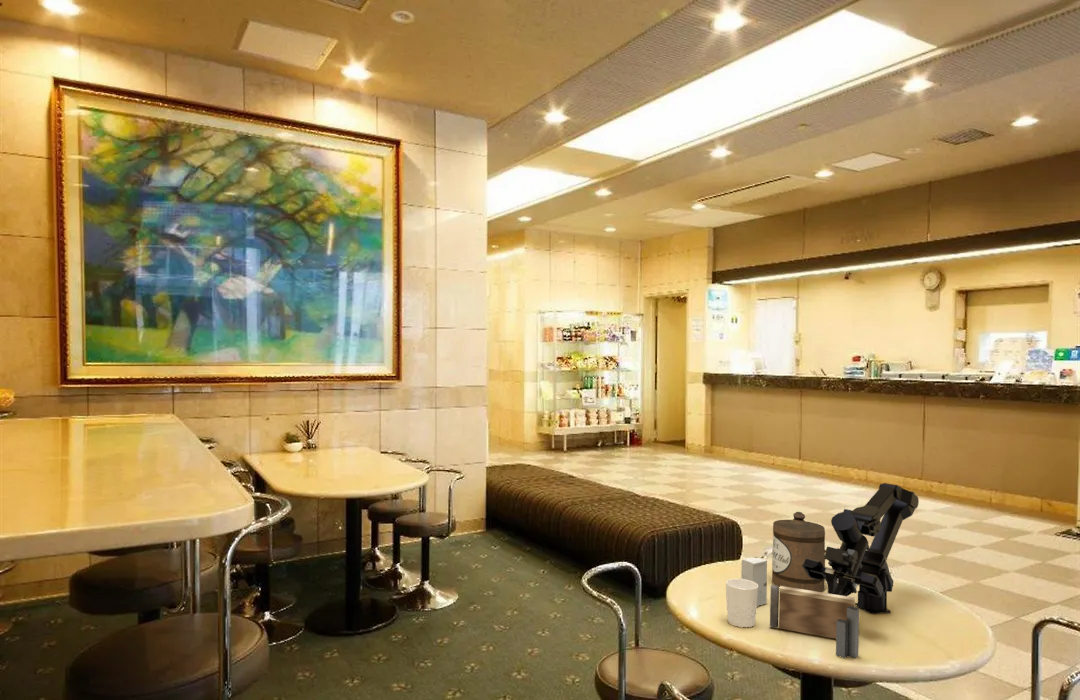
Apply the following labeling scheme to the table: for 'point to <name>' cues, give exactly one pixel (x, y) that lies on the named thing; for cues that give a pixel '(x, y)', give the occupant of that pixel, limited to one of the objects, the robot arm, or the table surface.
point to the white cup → (741, 602)
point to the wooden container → (797, 552)
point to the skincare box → (756, 576)
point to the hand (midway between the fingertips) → (830, 605)
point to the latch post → (848, 634)
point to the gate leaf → (807, 610)
